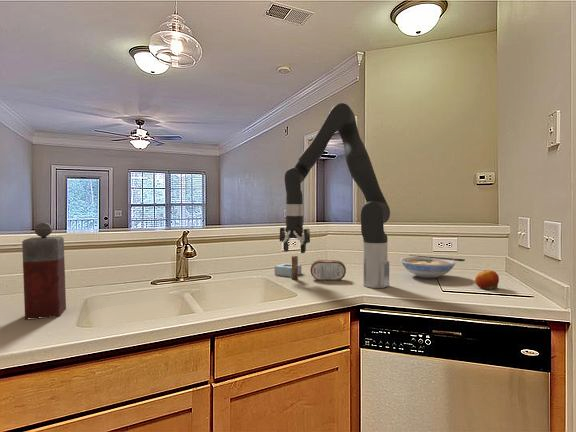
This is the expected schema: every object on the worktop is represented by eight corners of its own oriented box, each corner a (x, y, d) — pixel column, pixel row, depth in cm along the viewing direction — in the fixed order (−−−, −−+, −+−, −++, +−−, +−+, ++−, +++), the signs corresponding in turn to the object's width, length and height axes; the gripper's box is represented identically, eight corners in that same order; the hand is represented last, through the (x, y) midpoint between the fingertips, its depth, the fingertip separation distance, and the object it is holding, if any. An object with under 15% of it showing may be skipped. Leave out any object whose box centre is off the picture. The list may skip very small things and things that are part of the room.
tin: (345, 279, 158) (345, 260, 158) (346, 281, 155) (346, 261, 154) (310, 279, 159) (310, 259, 159) (310, 280, 156) (310, 261, 156)
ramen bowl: (387, 276, 163) (387, 258, 162) (414, 269, 178) (414, 253, 178) (443, 285, 144) (443, 264, 144) (468, 277, 159) (468, 258, 159)
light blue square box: (301, 273, 172) (301, 264, 172) (290, 276, 165) (290, 267, 165) (285, 271, 177) (285, 263, 177) (274, 274, 170) (274, 266, 170)
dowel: (299, 279, 160) (298, 256, 159) (295, 280, 158) (295, 256, 157) (294, 278, 161) (293, 255, 161) (290, 279, 159) (290, 256, 159)
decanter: (67, 306, 121) (64, 221, 120) (60, 316, 110) (56, 222, 109) (35, 309, 117) (32, 222, 116) (24, 320, 107) (21, 223, 106)
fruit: (497, 288, 132) (486, 268, 135) (478, 296, 138) (468, 276, 141) (508, 285, 136) (497, 265, 140) (490, 293, 142) (479, 273, 145)
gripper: (313, 214, 158) (313, 252, 158) (285, 214, 166) (285, 250, 166) (303, 215, 151) (303, 254, 152) (275, 214, 159) (276, 251, 160)
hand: (294, 252), depth 159 cm, fingers open, 8 cm apart
